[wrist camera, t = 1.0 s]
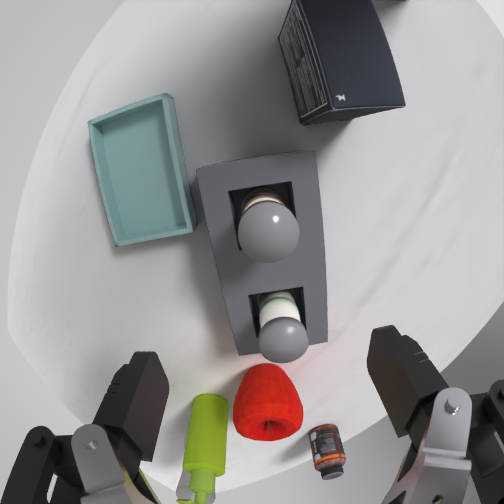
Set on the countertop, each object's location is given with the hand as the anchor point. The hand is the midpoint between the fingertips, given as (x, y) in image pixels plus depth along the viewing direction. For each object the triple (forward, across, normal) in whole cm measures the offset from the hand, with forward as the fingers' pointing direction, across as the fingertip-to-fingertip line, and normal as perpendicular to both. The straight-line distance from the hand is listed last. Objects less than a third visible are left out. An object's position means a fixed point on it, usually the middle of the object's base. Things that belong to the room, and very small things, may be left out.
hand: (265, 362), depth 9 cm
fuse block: (+21, -1, +3) cm, 21 cm away
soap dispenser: (+21, +10, +29) cm, 37 cm away
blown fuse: (+20, -1, -2) cm, 20 cm away
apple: (+21, +1, +22) cm, 31 cm away
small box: (+20, -8, -15) cm, 27 cm away
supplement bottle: (+22, -9, +43) cm, 49 cm away
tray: (+20, +11, -7) cm, 24 cm away
